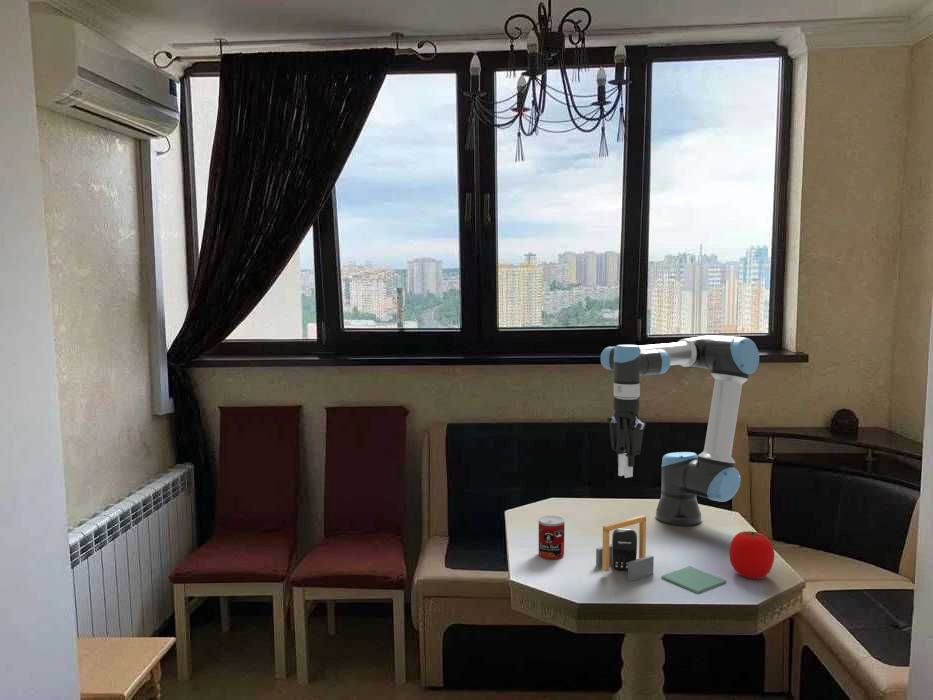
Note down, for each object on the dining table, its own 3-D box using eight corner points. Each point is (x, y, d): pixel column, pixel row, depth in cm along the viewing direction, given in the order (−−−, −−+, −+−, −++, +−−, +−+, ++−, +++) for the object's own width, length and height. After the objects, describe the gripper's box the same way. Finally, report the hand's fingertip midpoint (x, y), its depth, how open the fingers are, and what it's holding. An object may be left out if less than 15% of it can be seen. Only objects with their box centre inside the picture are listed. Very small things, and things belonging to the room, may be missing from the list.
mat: (689, 568, 197) (689, 566, 197) (726, 582, 187) (726, 580, 187) (661, 577, 190) (661, 575, 190) (697, 593, 180) (697, 591, 180)
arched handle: (641, 557, 201) (642, 514, 200) (645, 559, 200) (646, 516, 199) (602, 570, 192) (602, 525, 191) (606, 571, 191) (606, 527, 190)
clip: (618, 558, 205) (618, 542, 204) (653, 573, 193) (653, 556, 193) (596, 565, 200) (596, 548, 199) (631, 581, 188) (631, 563, 188)
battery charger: (611, 571, 195) (612, 531, 194) (611, 565, 199) (612, 527, 198) (637, 573, 194) (637, 533, 193) (636, 567, 198) (637, 529, 197)
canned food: (535, 558, 205) (535, 522, 204) (542, 548, 213) (542, 514, 212) (561, 561, 202) (561, 525, 202) (566, 552, 210) (566, 516, 209)
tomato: (751, 587, 184) (752, 541, 183) (719, 571, 195) (720, 527, 194) (785, 579, 189) (786, 534, 188) (751, 564, 200) (753, 521, 199)
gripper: (599, 395, 206) (598, 472, 208) (636, 401, 194) (635, 483, 196) (616, 393, 211) (616, 468, 213) (654, 399, 198) (653, 479, 200)
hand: (625, 475), depth 204 cm, fingers open, 2 cm apart
